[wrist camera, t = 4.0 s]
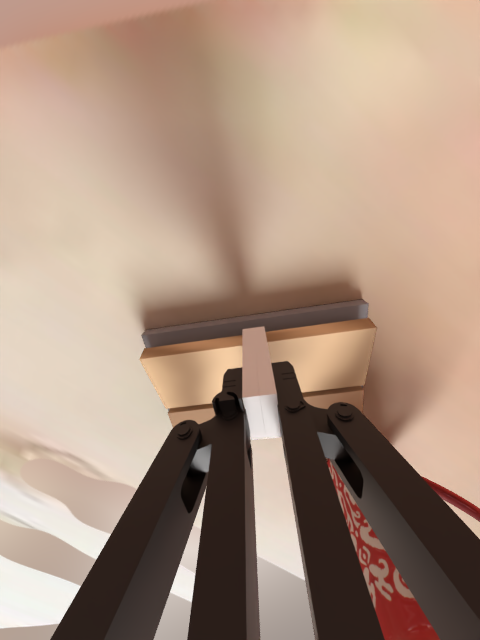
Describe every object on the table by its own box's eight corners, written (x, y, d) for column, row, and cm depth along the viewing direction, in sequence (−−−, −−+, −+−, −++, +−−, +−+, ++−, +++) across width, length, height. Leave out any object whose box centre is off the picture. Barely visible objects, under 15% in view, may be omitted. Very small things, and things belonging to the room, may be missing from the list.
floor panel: (178, 424, 25) (173, 443, 23) (145, 330, 20) (135, 342, 18) (356, 404, 24) (367, 421, 22) (362, 299, 19) (376, 309, 17)
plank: (169, 397, 22) (166, 408, 21) (144, 348, 19) (139, 359, 18) (358, 374, 21) (364, 385, 20) (368, 317, 17) (376, 327, 16)
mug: (334, 498, 30) (401, 700, 17) (302, 456, 27) (356, 665, 14) (439, 463, 27) (606, 672, 15) (417, 411, 24) (606, 621, 12)
